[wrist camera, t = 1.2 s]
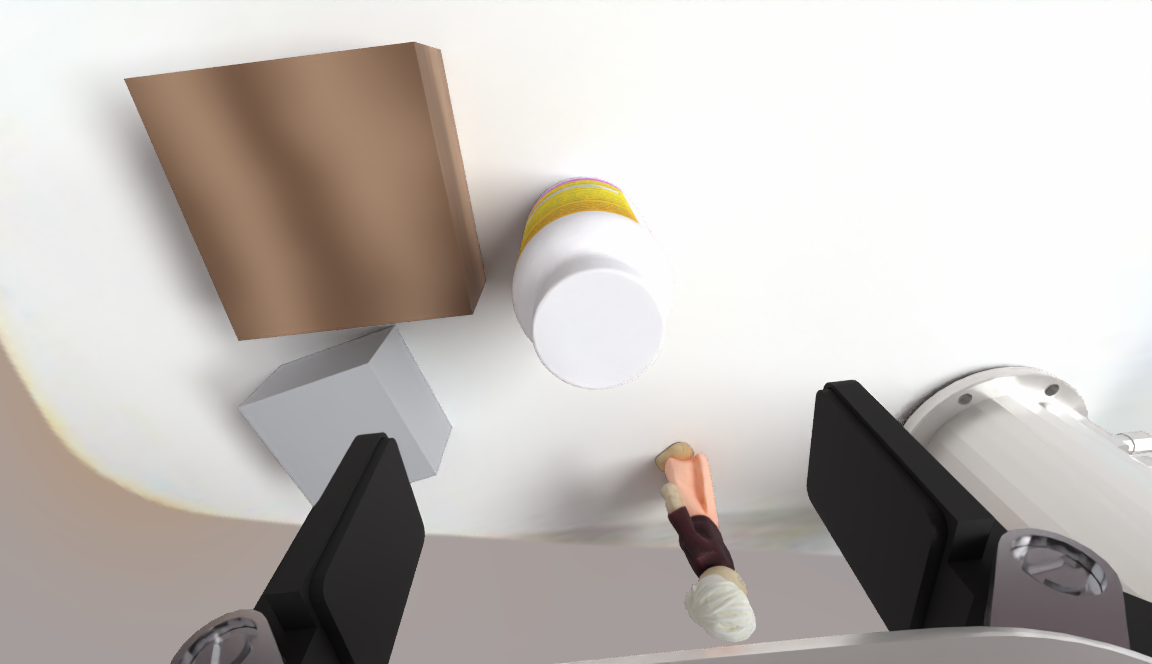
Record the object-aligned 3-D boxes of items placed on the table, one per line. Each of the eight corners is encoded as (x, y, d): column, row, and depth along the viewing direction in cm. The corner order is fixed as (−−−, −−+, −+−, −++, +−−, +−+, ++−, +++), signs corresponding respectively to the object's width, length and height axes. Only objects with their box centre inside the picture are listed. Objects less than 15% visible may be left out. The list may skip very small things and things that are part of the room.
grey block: (396, 323, 32) (368, 362, 27) (452, 424, 35) (436, 474, 31) (282, 363, 33) (237, 407, 28) (347, 458, 36) (317, 511, 32)
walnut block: (440, 49, 25) (413, 41, 21) (486, 280, 30) (472, 314, 26) (201, 80, 26) (124, 78, 21) (286, 303, 31) (238, 340, 26)
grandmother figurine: (733, 478, 37) (809, 651, 26) (691, 506, 38) (746, 685, 27) (667, 413, 35) (717, 574, 23) (623, 446, 36) (652, 614, 24)
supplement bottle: (501, 224, 29) (460, 315, 17) (595, 148, 27) (620, 193, 16) (573, 311, 31) (579, 442, 20) (664, 246, 30) (730, 347, 18)
